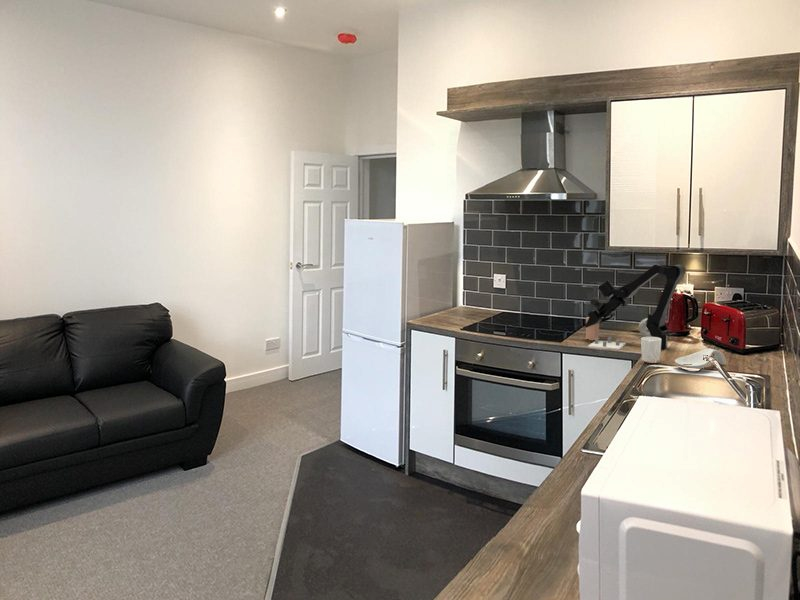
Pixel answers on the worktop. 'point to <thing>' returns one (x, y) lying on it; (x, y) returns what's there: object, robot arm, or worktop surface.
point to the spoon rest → (700, 359)
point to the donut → (644, 328)
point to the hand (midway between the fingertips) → (590, 325)
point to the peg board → (607, 344)
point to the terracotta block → (592, 331)
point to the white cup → (650, 348)
